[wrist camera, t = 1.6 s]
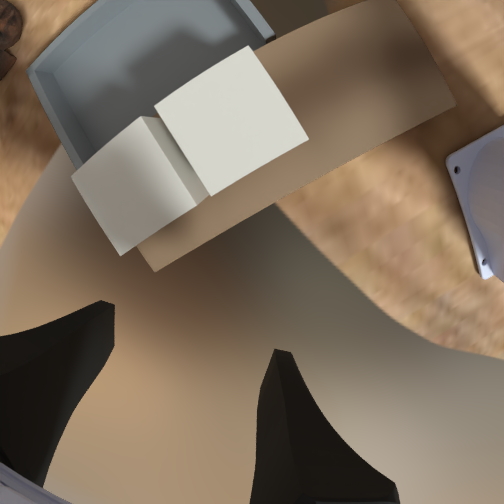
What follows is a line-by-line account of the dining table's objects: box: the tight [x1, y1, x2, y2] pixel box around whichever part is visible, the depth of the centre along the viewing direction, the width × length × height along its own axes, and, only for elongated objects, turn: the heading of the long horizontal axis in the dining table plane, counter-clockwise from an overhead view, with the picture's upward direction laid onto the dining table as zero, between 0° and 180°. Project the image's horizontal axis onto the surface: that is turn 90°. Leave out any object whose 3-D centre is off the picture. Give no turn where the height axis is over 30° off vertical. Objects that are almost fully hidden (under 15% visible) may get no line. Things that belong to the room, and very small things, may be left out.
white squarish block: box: [71, 116, 210, 256], centre depth 14 cm, size 4×4×3 cm
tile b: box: [154, 45, 309, 196], centre depth 13 cm, size 4×4×3 cm
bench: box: [136, 0, 457, 272], centre depth 16 cm, size 7×19×3 cm, turn 121°
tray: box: [26, 0, 276, 170], centre depth 15 cm, size 9×13×2 cm, turn 121°
